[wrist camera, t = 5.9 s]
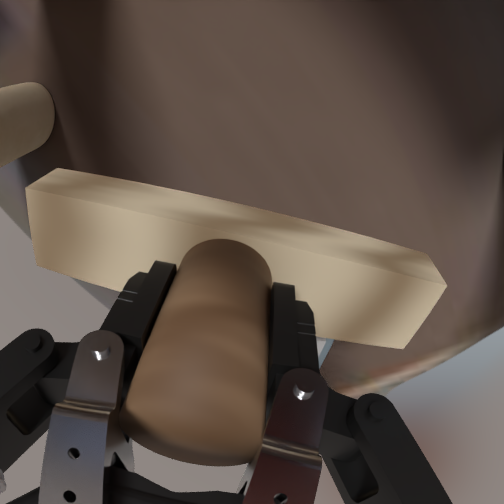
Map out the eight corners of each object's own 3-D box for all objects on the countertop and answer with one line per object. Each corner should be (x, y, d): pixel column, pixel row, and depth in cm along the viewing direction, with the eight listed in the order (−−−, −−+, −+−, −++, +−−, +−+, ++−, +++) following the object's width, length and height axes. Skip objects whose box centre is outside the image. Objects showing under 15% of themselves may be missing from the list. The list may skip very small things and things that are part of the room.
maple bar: (426, 253, 13) (511, 414, 6) (391, 314, 15) (435, 470, 8) (57, 167, 12) (-86, 279, 5) (62, 239, 14) (-41, 363, 7)
